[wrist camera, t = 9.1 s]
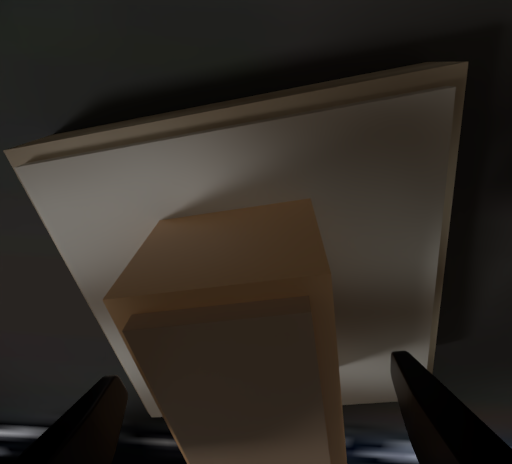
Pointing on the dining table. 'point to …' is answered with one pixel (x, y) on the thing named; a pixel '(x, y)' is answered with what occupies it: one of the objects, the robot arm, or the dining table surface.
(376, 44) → the dining table surface
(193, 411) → the housing
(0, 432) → the dining table surface
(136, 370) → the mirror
